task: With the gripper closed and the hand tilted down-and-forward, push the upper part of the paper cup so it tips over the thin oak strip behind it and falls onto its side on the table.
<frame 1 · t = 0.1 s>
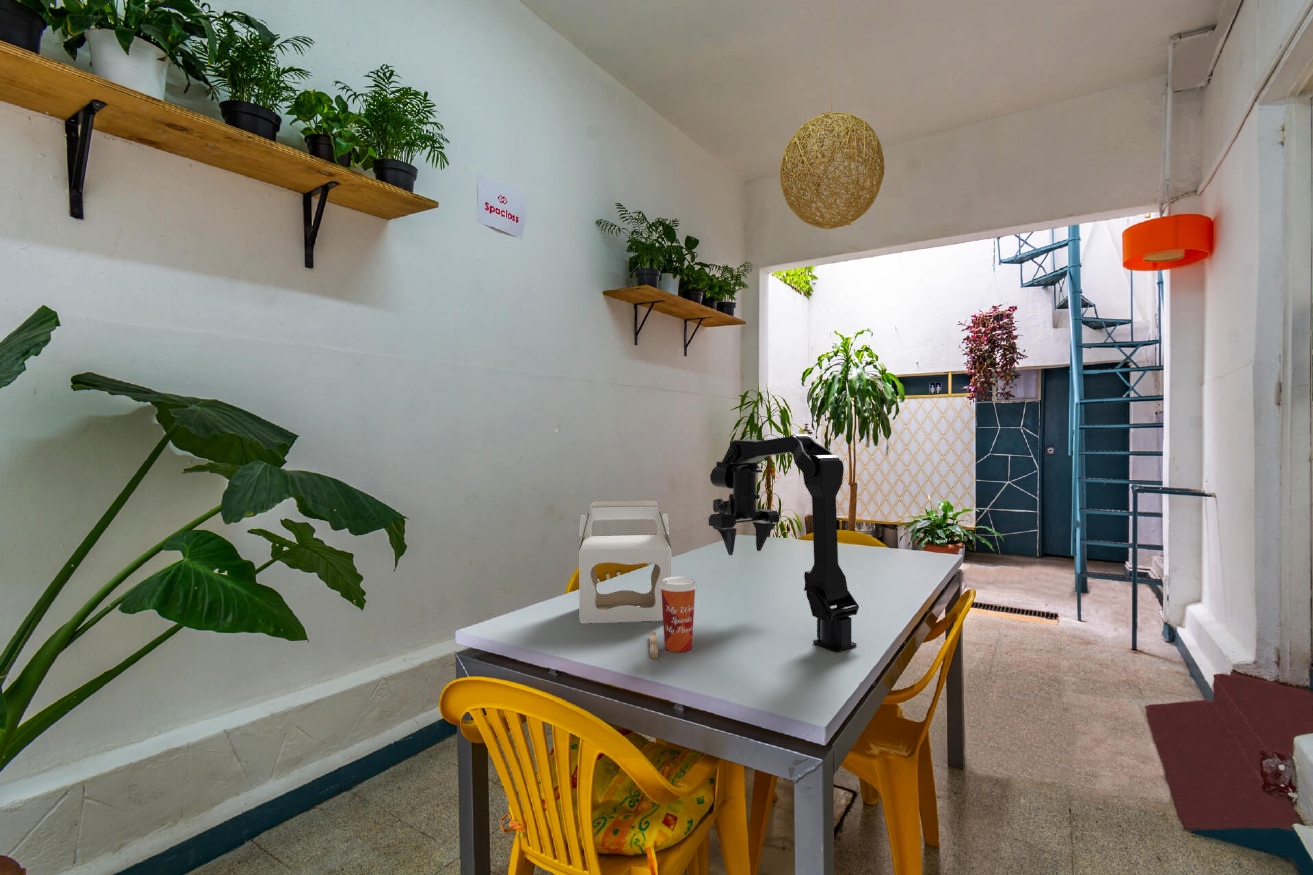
hand: (744, 552, 149), 15 cm above the table, tool pointing down, fingers open, 9 cm apart
paper cup: (678, 648, 125), on the table
gable box: (624, 614, 148), on the table
oak strip: (653, 647, 125), on the table
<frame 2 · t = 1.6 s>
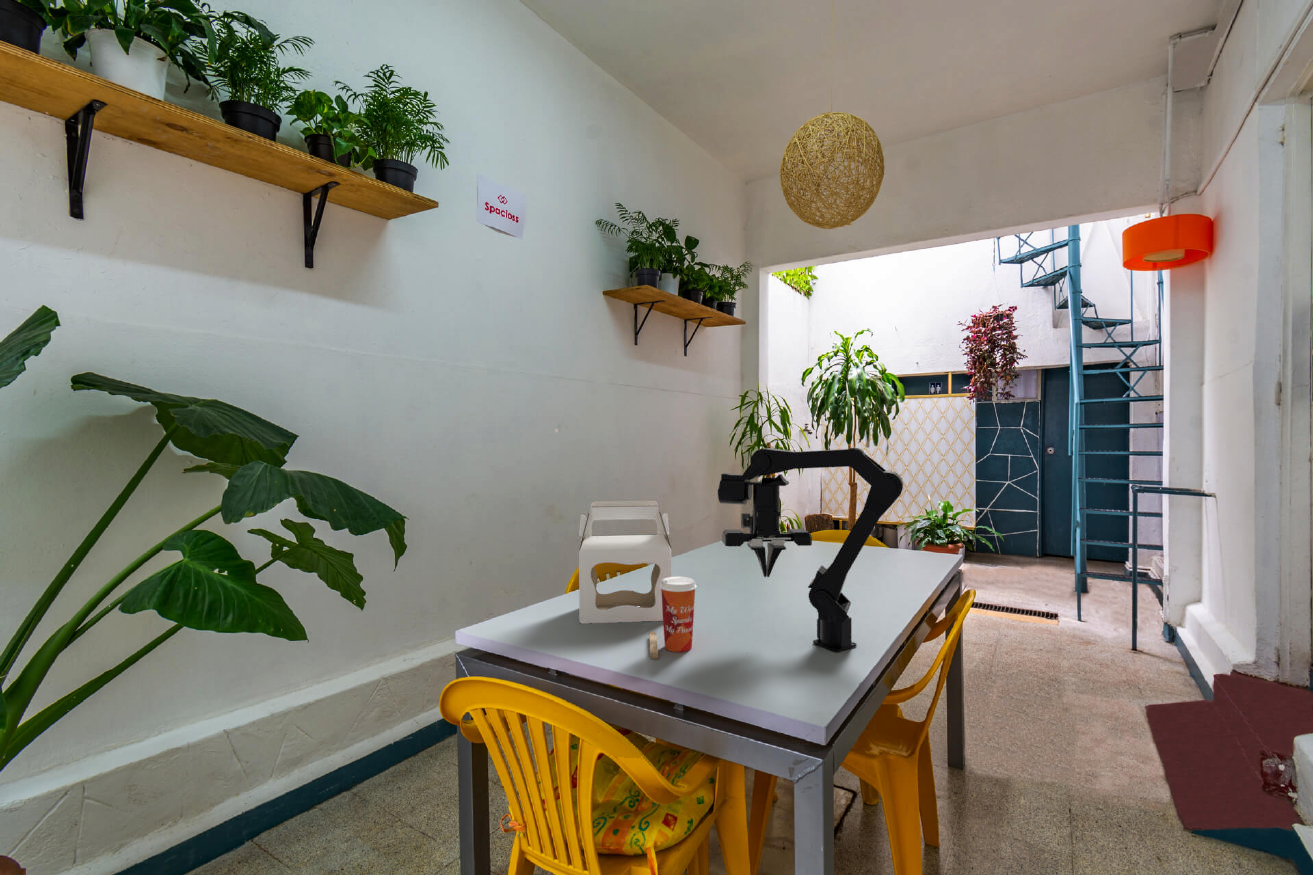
hand: (766, 576, 131), 13 cm above the table, tool pointing down, fingers closed
nothing on the table moved.
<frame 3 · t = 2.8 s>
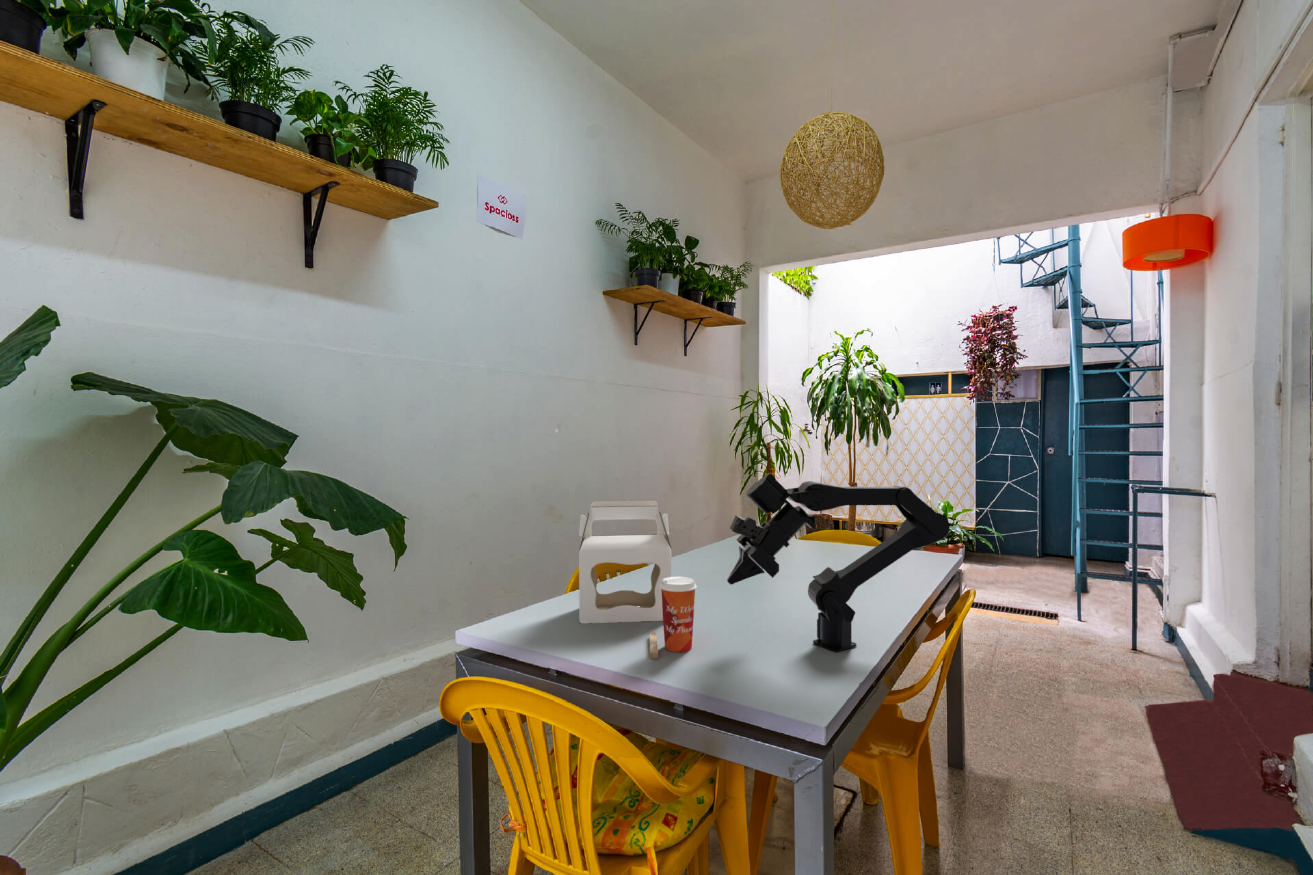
hand: (728, 582, 125), 13 cm above the table, tool tilted 45°, fingers closed
nothing on the table moved.
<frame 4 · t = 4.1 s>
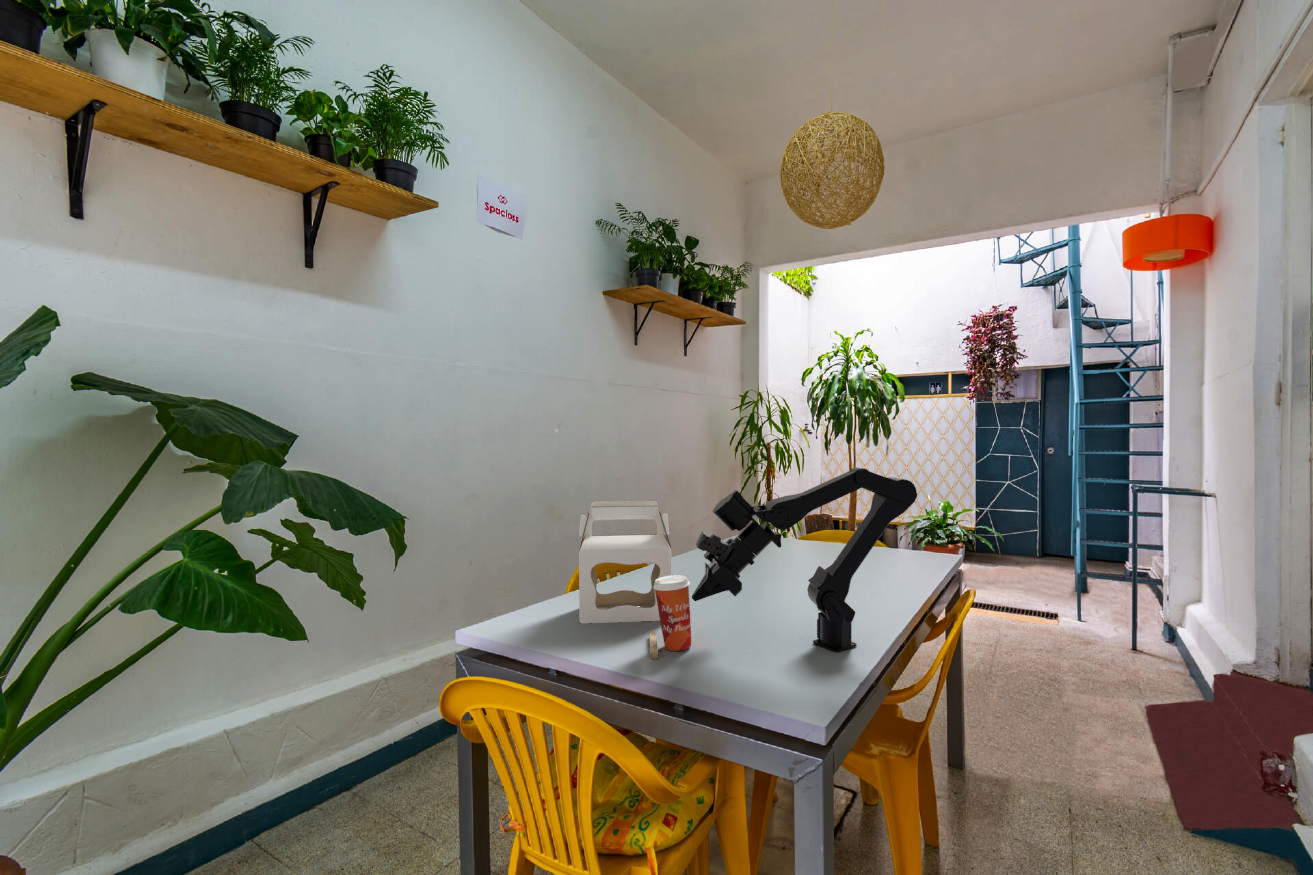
hand: (693, 599, 125), 10 cm above the table, tool tilted 45°, fingers closed
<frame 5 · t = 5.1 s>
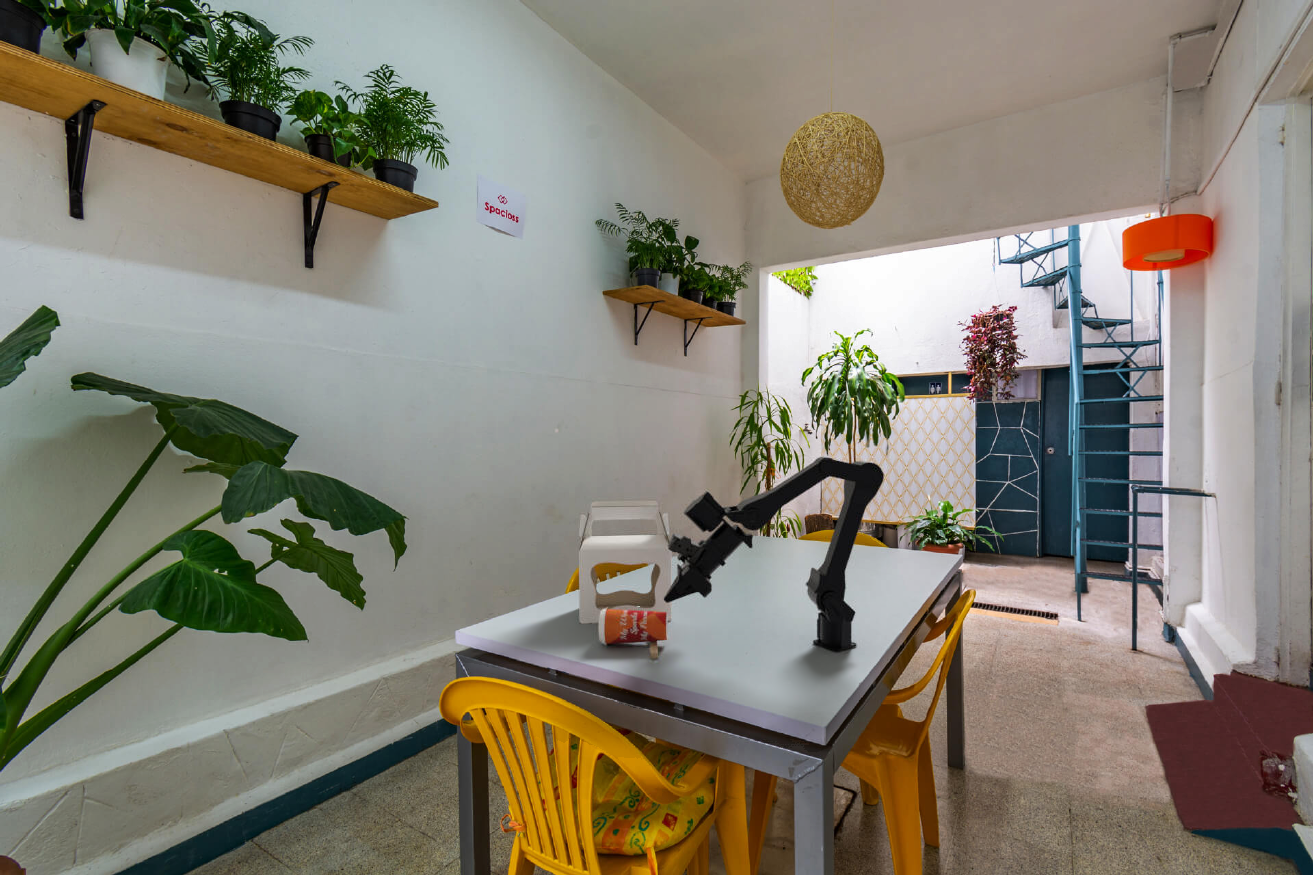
hand: (665, 600, 125), 10 cm above the table, tool tilted 45°, fingers closed
paper cup: (668, 625, 126), point 4 cm above the table
everything else where it was.
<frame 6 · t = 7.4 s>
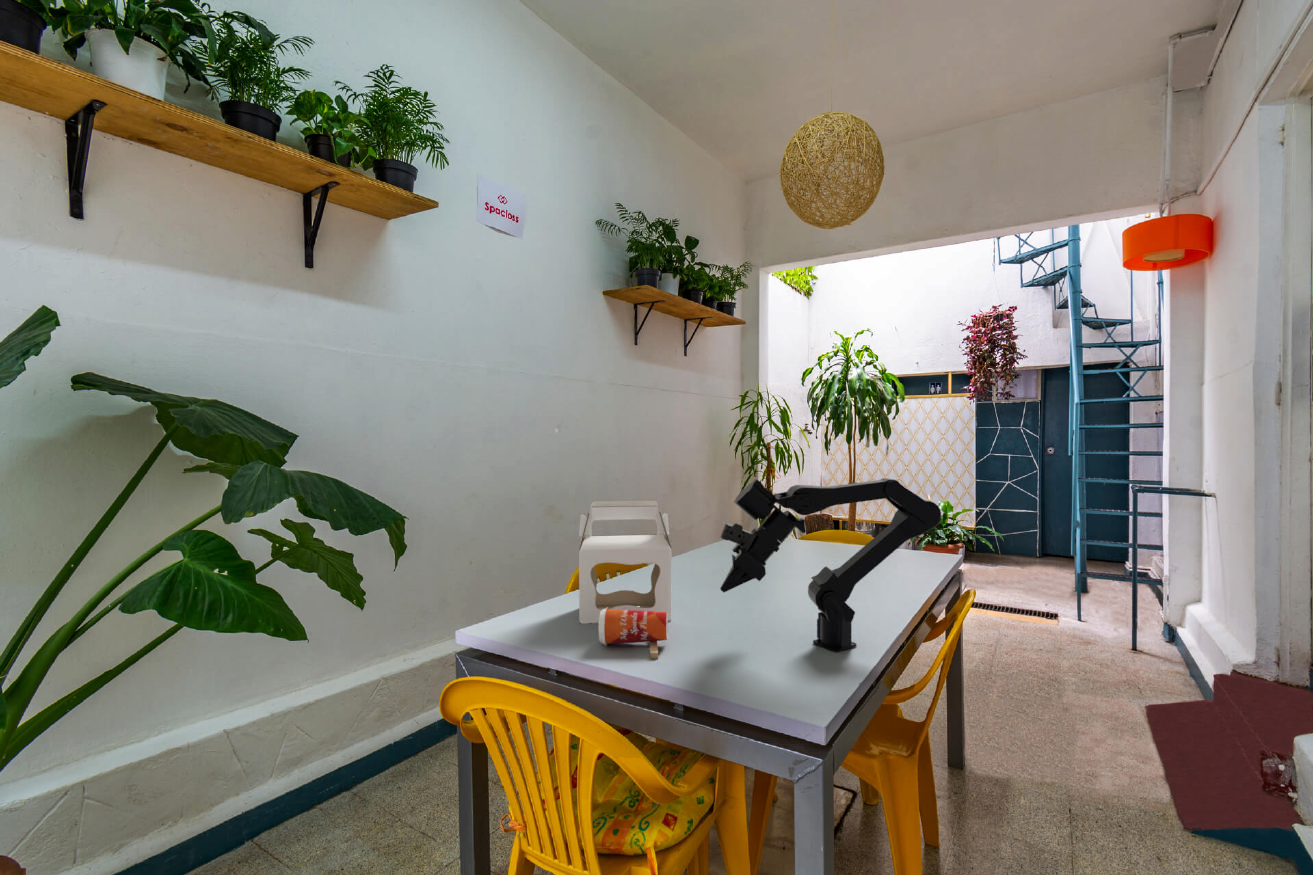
hand: (721, 590, 126), 12 cm above the table, tool tilted 40°, fingers closed
paper cup: (668, 625, 126), point 4 cm above the table, touching oak strip
everything else where it was.
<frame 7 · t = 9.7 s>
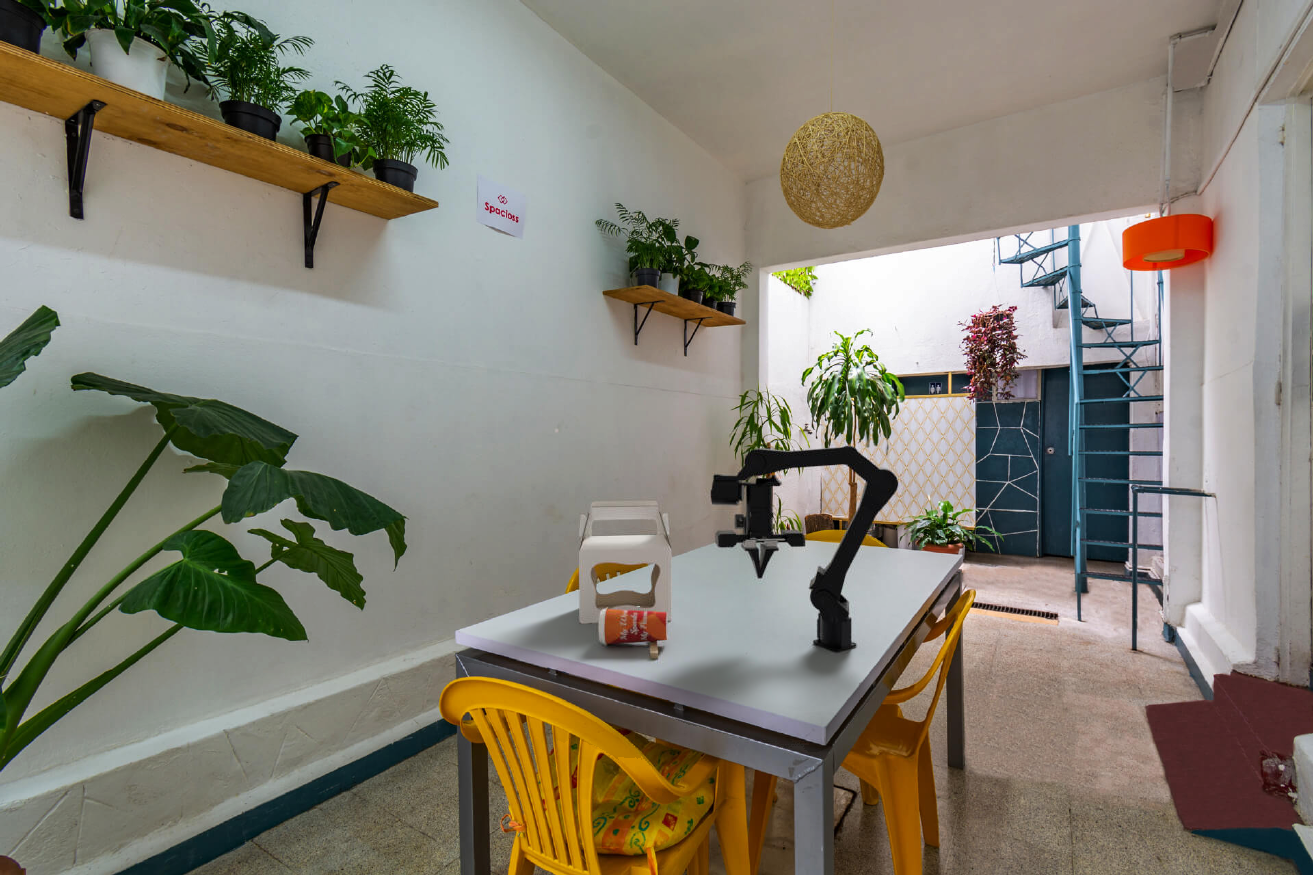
hand: (759, 578, 130), 13 cm above the table, tool pointing down, fingers closed
nothing on the table moved.
at the end: paper cup tilted 91°; paper cup point 4.2 cm above the table; paper cup 3.2 cm from the oak strip (horizontally) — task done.
